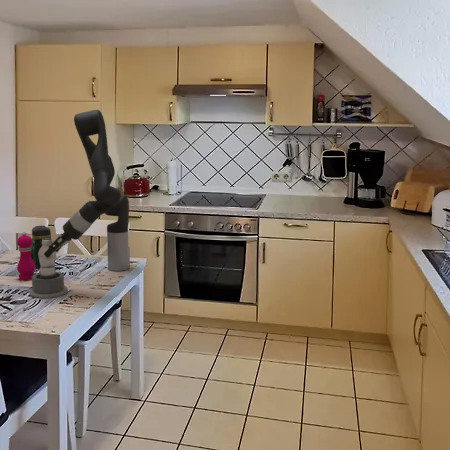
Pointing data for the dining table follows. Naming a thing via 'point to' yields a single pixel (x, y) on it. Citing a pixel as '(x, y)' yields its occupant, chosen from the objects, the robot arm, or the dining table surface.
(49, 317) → the dining table surface
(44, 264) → the plastic bottle
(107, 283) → the dining table surface
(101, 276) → the dining table surface
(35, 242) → the coffee jar
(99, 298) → the dining table surface
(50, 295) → the bottle holder
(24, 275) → the pepper mill
